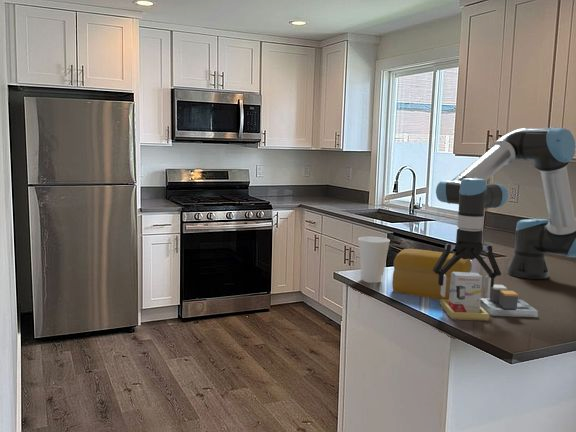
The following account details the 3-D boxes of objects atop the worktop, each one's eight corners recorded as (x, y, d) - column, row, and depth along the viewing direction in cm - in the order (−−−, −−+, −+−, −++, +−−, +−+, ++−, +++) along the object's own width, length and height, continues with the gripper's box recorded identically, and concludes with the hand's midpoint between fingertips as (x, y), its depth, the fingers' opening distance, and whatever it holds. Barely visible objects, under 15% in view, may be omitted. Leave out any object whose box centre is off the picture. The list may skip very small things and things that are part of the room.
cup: (392, 279, 205) (394, 238, 203) (381, 286, 195) (383, 243, 193) (363, 275, 211) (365, 235, 209) (351, 281, 201) (353, 239, 199)
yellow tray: (474, 306, 174) (474, 300, 174) (488, 320, 160) (489, 314, 160) (440, 305, 174) (440, 299, 174) (451, 319, 160) (452, 312, 160)
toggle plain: (501, 298, 176) (502, 284, 175) (505, 302, 172) (507, 288, 171) (489, 298, 176) (490, 284, 175) (493, 301, 172) (494, 287, 171)
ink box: (452, 312, 164) (454, 275, 163) (447, 307, 170) (450, 271, 168) (480, 313, 164) (483, 276, 163) (475, 308, 169) (478, 272, 168)
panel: (521, 305, 176) (522, 299, 176) (537, 317, 165) (538, 310, 164) (478, 304, 177) (479, 297, 176) (491, 315, 165) (492, 308, 165)
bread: (391, 291, 189) (393, 250, 187) (402, 284, 200) (404, 244, 198) (462, 303, 177) (465, 259, 175) (470, 294, 188) (473, 252, 186)
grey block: (511, 304, 169) (513, 290, 168) (516, 308, 165) (518, 294, 164) (498, 304, 169) (500, 290, 168) (503, 308, 165) (504, 293, 164)
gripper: (506, 228, 167) (500, 294, 170) (426, 225, 167) (421, 291, 170) (515, 232, 159) (509, 301, 162) (431, 229, 160) (427, 298, 163)
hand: (464, 296), depth 166 cm, fingers open, 13 cm apart
